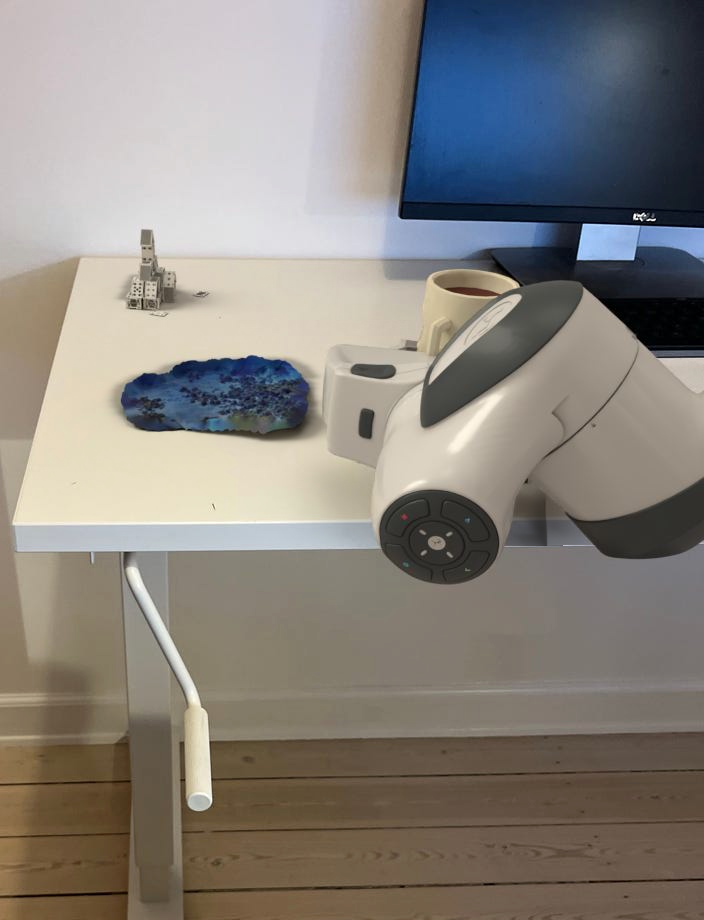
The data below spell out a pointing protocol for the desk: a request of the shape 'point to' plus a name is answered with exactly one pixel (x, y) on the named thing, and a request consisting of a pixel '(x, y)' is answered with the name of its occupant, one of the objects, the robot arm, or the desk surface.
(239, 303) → the desk surface
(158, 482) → the desk surface
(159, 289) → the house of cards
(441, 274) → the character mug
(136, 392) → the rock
